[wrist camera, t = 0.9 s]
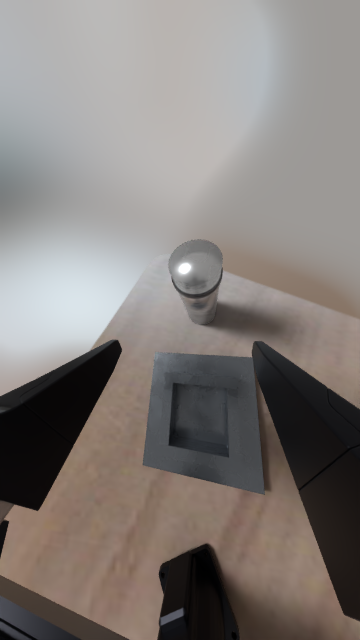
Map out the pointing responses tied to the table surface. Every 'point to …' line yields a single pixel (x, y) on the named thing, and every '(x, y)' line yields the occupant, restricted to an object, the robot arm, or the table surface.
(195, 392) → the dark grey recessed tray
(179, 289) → the silver banded cylinder
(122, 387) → the table surface
